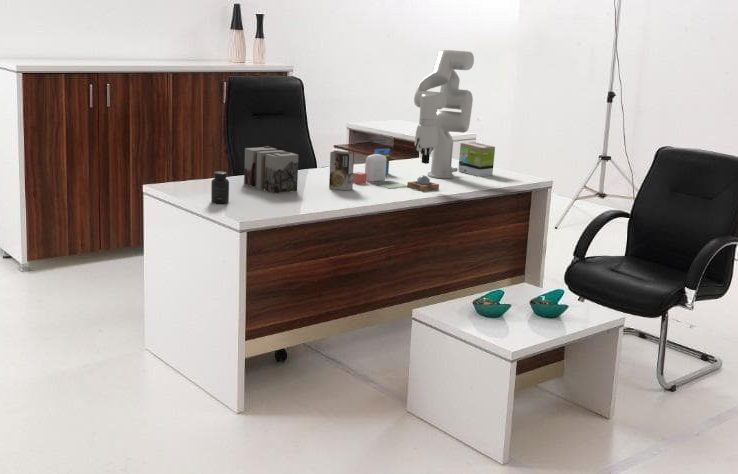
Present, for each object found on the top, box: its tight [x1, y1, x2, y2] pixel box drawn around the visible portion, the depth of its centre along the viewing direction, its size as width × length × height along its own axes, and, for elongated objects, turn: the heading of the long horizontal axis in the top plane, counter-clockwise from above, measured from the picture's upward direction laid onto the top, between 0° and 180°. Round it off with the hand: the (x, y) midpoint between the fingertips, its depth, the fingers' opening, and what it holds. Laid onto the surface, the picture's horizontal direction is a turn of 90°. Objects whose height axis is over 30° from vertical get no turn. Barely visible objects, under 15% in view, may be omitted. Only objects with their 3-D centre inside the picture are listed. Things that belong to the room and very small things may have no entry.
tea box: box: [457, 141, 496, 178], centre depth 451 cm, size 15×10×15 cm, turn 41°
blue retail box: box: [373, 148, 391, 175], centre depth 436 cm, size 9×4×12 cm, turn 121°
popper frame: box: [406, 180, 440, 192], centre depth 407 cm, size 10×10×2 cm
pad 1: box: [369, 179, 399, 187], centre depth 413 cm, size 12×6×1 cm, turn 129°
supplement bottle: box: [210, 170, 230, 205], centre depth 354 cm, size 7×7×12 cm
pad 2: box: [379, 182, 408, 190], centre depth 408 cm, size 12×6×1 cm, turn 129°
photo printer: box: [364, 153, 387, 183], centre depth 417 cm, size 10×4×12 cm, turn 123°
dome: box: [416, 175, 431, 185], centre depth 406 cm, size 6×6×5 cm
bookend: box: [243, 145, 299, 194], centre depth 388 cm, size 16×25×16 cm, turn 40°
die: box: [353, 171, 367, 185], centre depth 411 cm, size 4×4×5 cm
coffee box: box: [328, 150, 355, 192], centre depth 395 cm, size 9×6×16 cm
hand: (425, 163), depth 405 cm, fingers closed
